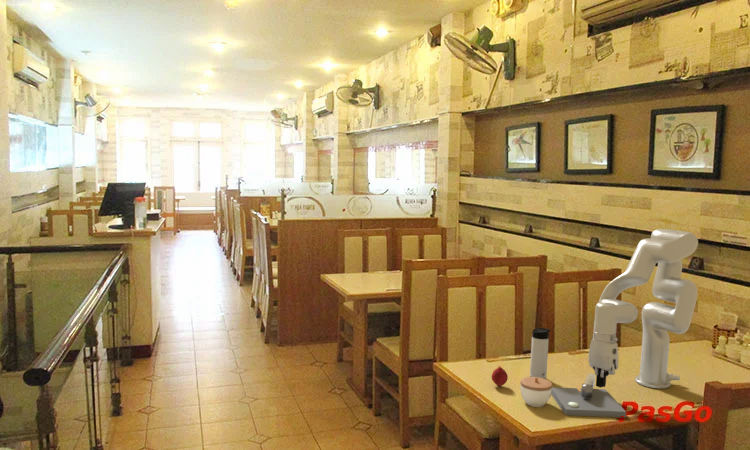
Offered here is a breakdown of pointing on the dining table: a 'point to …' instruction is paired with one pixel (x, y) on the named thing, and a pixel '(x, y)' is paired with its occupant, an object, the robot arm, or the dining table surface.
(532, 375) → the travel mug
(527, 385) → the lidded jar
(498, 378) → the onion
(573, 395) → the base
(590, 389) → the light grey rectangular bar
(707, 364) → the dining table surface
